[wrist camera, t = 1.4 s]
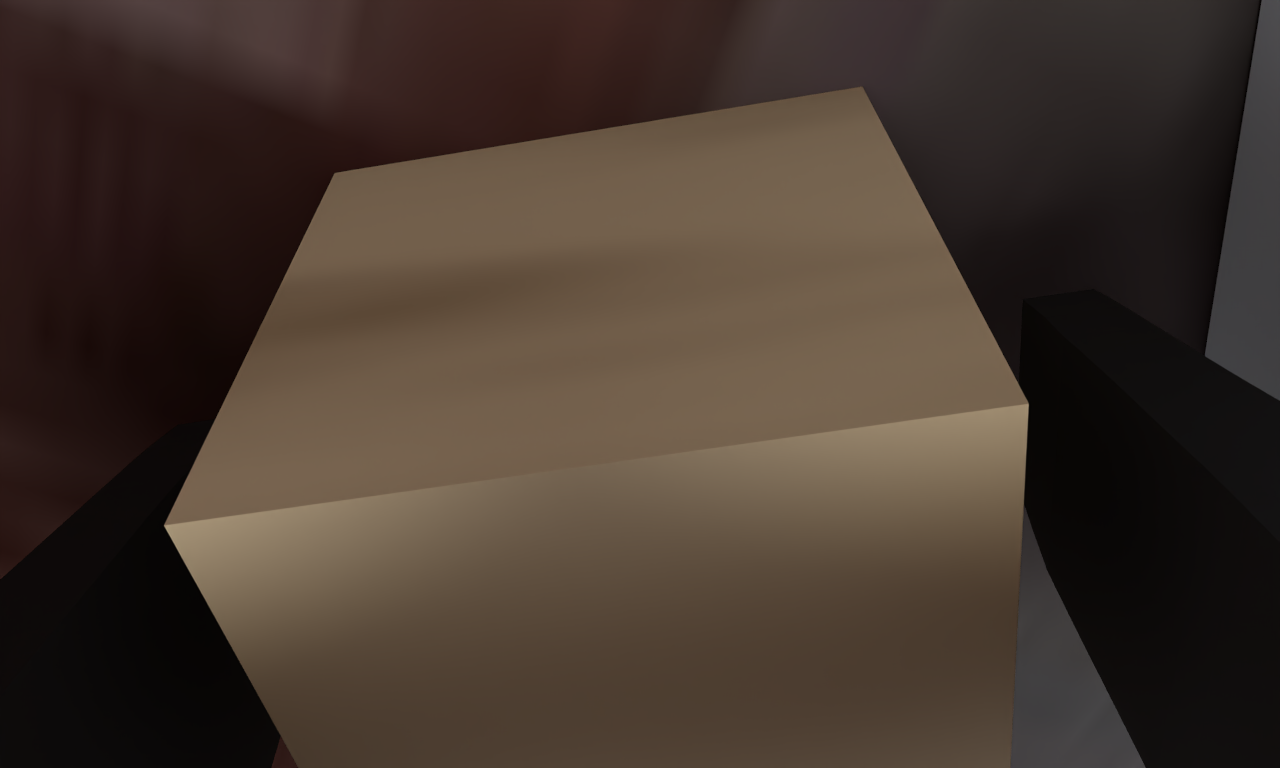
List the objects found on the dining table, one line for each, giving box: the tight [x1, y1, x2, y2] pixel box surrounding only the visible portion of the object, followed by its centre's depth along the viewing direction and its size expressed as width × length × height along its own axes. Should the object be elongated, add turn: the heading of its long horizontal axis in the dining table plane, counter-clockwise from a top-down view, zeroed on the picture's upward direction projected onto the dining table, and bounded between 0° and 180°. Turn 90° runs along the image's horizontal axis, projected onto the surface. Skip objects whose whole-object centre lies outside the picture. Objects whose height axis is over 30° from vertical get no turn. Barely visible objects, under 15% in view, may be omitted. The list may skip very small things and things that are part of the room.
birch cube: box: [164, 87, 1029, 768], centre depth 10 cm, size 5×5×5 cm
